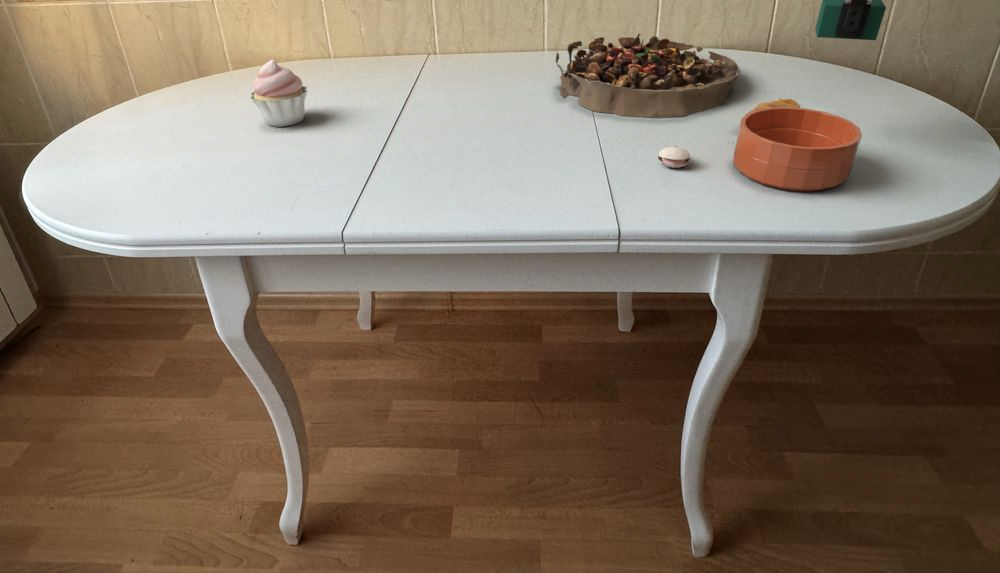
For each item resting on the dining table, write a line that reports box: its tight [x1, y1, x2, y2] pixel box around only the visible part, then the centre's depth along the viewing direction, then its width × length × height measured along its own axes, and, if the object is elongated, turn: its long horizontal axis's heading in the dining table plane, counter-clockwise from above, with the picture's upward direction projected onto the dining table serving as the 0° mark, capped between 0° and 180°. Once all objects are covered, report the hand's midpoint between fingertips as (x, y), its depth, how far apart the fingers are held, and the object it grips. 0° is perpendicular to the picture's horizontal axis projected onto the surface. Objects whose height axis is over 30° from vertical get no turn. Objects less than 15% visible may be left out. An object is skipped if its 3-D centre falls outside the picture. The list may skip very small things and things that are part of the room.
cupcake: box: [249, 59, 308, 128], centre depth 102 cm, size 9×9×10 cm
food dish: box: [555, 33, 741, 119], centre depth 113 cm, size 35×33×8 cm
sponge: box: [814, 0, 887, 41], centre depth 81 cm, size 7×4×4 cm, turn 70°
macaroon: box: [657, 146, 691, 169], centre depth 86 cm, size 4×5×2 cm
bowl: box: [733, 107, 863, 192], centre depth 82 cm, size 14×14×6 cm
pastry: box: [747, 98, 801, 113], centre depth 95 cm, size 9×7×4 cm
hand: (846, 30), depth 82 cm, fingers closed on sponge, 4 cm apart
